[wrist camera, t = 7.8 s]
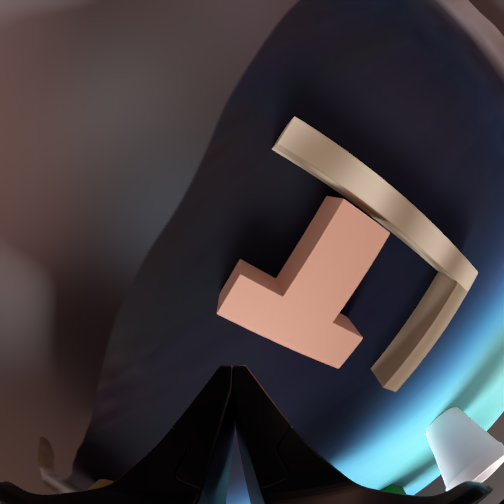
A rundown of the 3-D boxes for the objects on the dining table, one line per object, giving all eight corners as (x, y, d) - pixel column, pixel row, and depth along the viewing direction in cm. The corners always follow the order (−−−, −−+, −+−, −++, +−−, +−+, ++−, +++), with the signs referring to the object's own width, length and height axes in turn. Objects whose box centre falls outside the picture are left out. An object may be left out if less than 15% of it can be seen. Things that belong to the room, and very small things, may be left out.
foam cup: (417, 423, 26) (459, 489, 14) (469, 387, 26) (517, 441, 13) (416, 451, 29) (447, 506, 16) (462, 420, 28) (498, 468, 15)
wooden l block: (458, 263, 21) (478, 272, 18) (383, 373, 23) (395, 391, 20) (286, 126, 18) (294, 116, 15) (193, 283, 20) (186, 299, 17)
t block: (393, 244, 20) (417, 255, 17) (326, 344, 22) (338, 368, 19) (291, 173, 19) (302, 171, 15) (220, 292, 20) (216, 313, 17)
